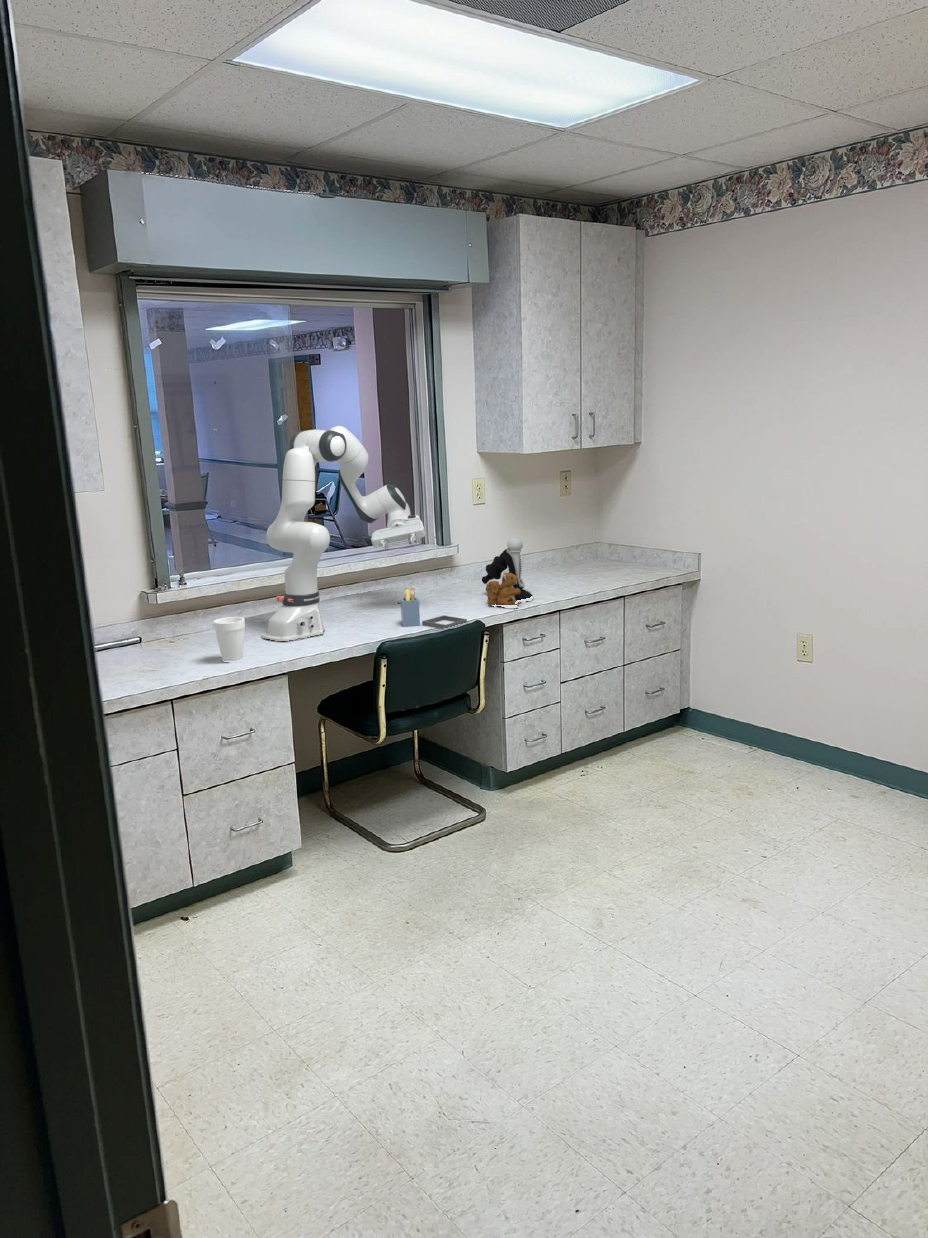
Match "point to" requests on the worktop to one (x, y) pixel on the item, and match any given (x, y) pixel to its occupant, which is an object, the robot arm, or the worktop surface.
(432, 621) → the gray square frame
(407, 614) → the pencil cup
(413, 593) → the wooden peg
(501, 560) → the sculpture
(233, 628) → the foam cup
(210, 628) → the worktop surface
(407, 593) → the mustard peg
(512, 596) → the stuffed squirrel
